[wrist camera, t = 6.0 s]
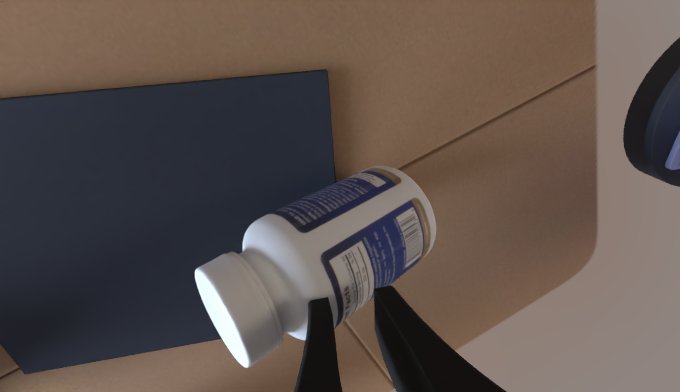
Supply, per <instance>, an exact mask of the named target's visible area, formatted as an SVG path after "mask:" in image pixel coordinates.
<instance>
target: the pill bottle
mask: <svg viewBox="0 0 680 392" xmlns="http://www.w3.org/2000/svg"><path fill="white" fill-rule="evenodd" d="M435 237H436V222H435V217H434V213H433V210H432V207H431V205H430V203H429V200H428V199H427V197H426V196H425V194H424V192H423V191H422V190H421V188H420V187H419V186H418V185H417V184H416V183H415V182H414V181H413V180H412V179H411V178H410V177H409V176H407V175H406V174H405V173H403V172H401V171H400V170H398V169H395V168H392V167H389V166H374V167H370V168H368V169H365V170H363V171H360V172H358V173H356V174H354V175H352V176H350V177H348V178H345V179H343V180H341V181H339V182H337V183H334V184H332V185H330V186H328V187H326V188H324V189H321V190H319V191H317V192H315V193H313V194H311V195H308V196H306V197H304V198H302V199H300V200H298V201H295V202H293V203H291V204H289V205H287V206H285V207H282V208H280V209H278V210H276V211H274V212H272V213H269V214H267V215H265V216H263V217H261V218H259V219H258V220H256V221H254V222H253V223H252V224H251V225H250V226H249V227H248V229H247V231H246V233H245V235H244V238H243V247H242V248H243V252H242V253H240V254H237V253H234V252H229V253H227V254H222V255H220V256H219V257H217V258H215V259H214V260H212V261H210V262H208V263H206V264H204V265H202V266H200V267H198V268H197V269H196V270H195V281H196V284H197V287H198V290H199V293H200V296H201V298H202V301H203V303H204V305H205V308H206V310H207V312H208V314H209V316H210V318H211V320H212V322H213V324H214V326H215V328H216V329H217V331H218V333H219V335H220V336H221V338H222V340H223V341H224V343H225V344H226V346H227V347H228V349H229V350H230V352H231V353H232V354H233V356H234V357H235V358H236V360H237V361H238V362H239V363H240V364H241V365H242V366H244V367H246V368H248V367H250V366H252V365H253V364H255V363H256V362H258V361H259V360H261V359H262V358H264V357H265V356H266V355H268V354H269V353H271V352H273V351H274V350H276V348H277V347H278V346H280V345H281V343H282V340H283V335H284V334H286V333H289V334H290V335H292V336H293V337H295V338H297V339H300V340H306V334H307V325H308V303H309V302H310V300H315V299H320V298H326V297H328V298H329V302H330V306H331V310H332V314H333V323H334V329H335V327H336V326H338V325H339V324H341V323H342V322H343V321H345V320H346V319H347V318H348V317H350V316H351V315H352V314H353V313H354V312H356V311H357V310H358V309H360V308H361V307H362V306H364V305H365V304H366V303H367V302H369V301H370V300H371V299H373V298H374V288H380V287H385V286H389V285H390V284H392V283H393V282H394V281H395V280H396V279H398V278H399V277H400V276H401V275H403V274H404V273H405V272H407V271H408V270H409V269H410V268H412V267H413V266H414V265H416V264H417V263H418V262H419V261H420V260H421V259H422V258H424V257H425V256H426V255H427V254H428V253H429V252H430V250H431V248H432V246H433V244H434V241H435Z"/></svg>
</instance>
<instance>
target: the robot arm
mask: <svg viewBox="0 0 680 392" xmlns="http://www.w3.org/2000/svg"><path fill="white" fill-rule="evenodd" d="M665 167H666V168H668V169H671V170H676V169H680V131H679V133H678V135H677V138H676V140H675V142H674V144H673V147H672V149H671V151H670V154H669V156H668V158H667V160H666V163H665ZM374 306H375V331H376V335H377V338H378V342H379V346H380V349H381V352H382V356H383V359H384V361H385V364H386V366H387V369H388V371H389V374H390V376H391V379H392V381H393V384H394V386H395V389H396V391H397V392H506V391H505V390H503V389H502V388H501V387H499V386H498V385H496V384H495V383H494V382H492V381H491V380H490V379H489V378H487V377H486V376H484V375H483V374H482V373H481V372H479V371H478V370H477V369H476V368H474V367H473V366H472V365H471V364H469V363H468V362H467V361H466V360H465V359H464V358H462V357H461V356H460V355H459V354H458V353H457V352H455V351H454V350H453V349H452V348H451V347H450V346H449V345H448V344H447V343H446V342H444V341H443V340H442V339H441V338H440V337H439V336H438V335H437V334H436V333H435V332H434V331H433V330H432V329H431V328H430V327H429V326H428V325H427V324H426V323H425V322H424V321H423V320H422V319H421V318H420V317H419V316H418V315H417V314H416V312H415V311H414V310H413V309H412V308H411V307H410V306H409V305H408V304H407V303H406V301H405V300H404V299H403V298H402V297H401V296H400V294H399V293H398V292H397V291H396V290H395V288H394V287H392V286H385V287H380V288H374ZM294 392H342V387H341V383H340V377H339V370H338V361H337V351H336V342H335V332H334V323H333V314H332V310H331V306H330V302H329V298H328V297H326V298H320V299H315V300H310V302H309V303H308V325H307V334H306V340H305V346H304V351H303V357H302V362H301V366H300V370H299V374H298V378H297V382H296V386H295V390H294Z"/></svg>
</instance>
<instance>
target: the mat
mask: <svg viewBox="0 0 680 392" xmlns="http://www.w3.org/2000/svg"><path fill="white" fill-rule="evenodd" d="M334 183H336V179H335V165H334V152H333V138H332V124H331V110H330V97H329V83H328V71H327V70H326V69H325V70H314V71H303V72H292V73H280V74H269V75H258V76H247V77H235V78H224V79H213V80H202V81H190V82H179V83H168V84H157V85H145V86H134V87H123V88H112V89H100V90H89V91H78V92H67V93H55V94H44V95H33V96H22V97H10V98H0V344H1V345H2V347H3V348H4V349H5V350H6V352H7V353H8V354H9V355H10V356H11V358H12V359H13V360H14V361H15V363H16V364H17V365H18V366H19V368H20V369H21V370H22V371H23V372H24V374H30V373H35V372H41V371H46V370H52V369H57V368H63V367H68V366H74V365H79V364H85V363H90V362H96V361H101V360H107V359H112V358H118V357H123V356H129V355H134V354H140V353H145V352H151V351H156V350H162V349H167V348H173V347H179V346H184V345H190V344H195V343H201V342H206V341H212V340H217V339H222V338H221V336H220V335H219V333H218V331H217V329H216V328H215V326H214V324H213V322H212V320H211V318H210V316H209V314H208V312H207V310H206V308H205V305H204V303H203V301H202V298H201V296H200V293H199V290H198V287H197V284H196V281H195V270H196V269H197V268H198V267H200V266H202V265H204V264H206V263H208V262H210V261H212V260H214V259H215V258H217V257H219V256H220V255H222V254H227V253H229V252H234V253H237V254H240V253H242V252H243V248H242V247H243V238H244V235H245V233H246V231H247V229H248V227H249V226H250V225H251V224H252V223H253V222H254V221H256V220H258V219H259V218H261V217H263V216H265V215H267V214H269V213H272V212H274V211H276V210H278V209H280V208H282V207H285V206H287V205H289V204H291V203H293V202H295V201H298V200H300V199H302V198H304V197H306V196H308V195H311V194H313V193H315V192H317V191H319V190H321V189H324V188H326V187H328V186H330V185H332V184H334Z"/></svg>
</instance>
